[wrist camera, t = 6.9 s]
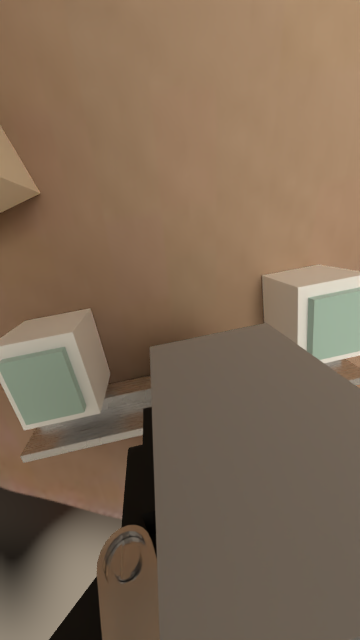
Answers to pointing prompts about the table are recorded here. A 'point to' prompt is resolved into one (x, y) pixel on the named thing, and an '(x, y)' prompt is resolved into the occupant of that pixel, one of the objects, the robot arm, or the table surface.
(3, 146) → the cream cube
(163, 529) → the block
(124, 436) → the rail
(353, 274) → the mounted modules
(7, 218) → the table surface
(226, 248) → the table surface
